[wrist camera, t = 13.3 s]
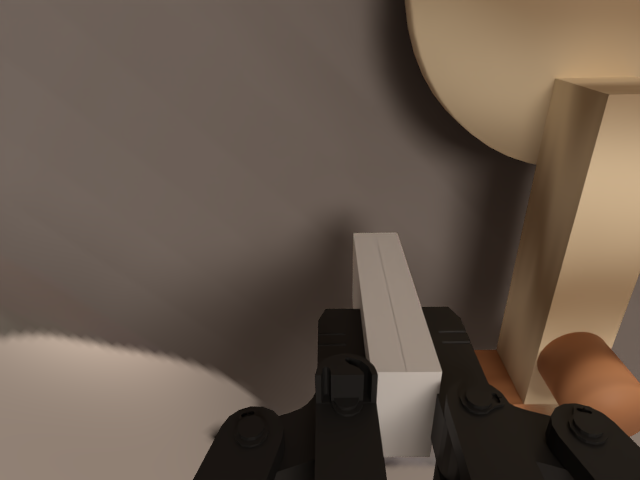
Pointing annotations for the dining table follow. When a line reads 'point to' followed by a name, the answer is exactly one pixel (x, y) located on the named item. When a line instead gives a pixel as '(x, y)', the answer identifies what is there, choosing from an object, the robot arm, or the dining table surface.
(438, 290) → the dining table surface
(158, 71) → the dining table surface
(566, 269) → the crank
